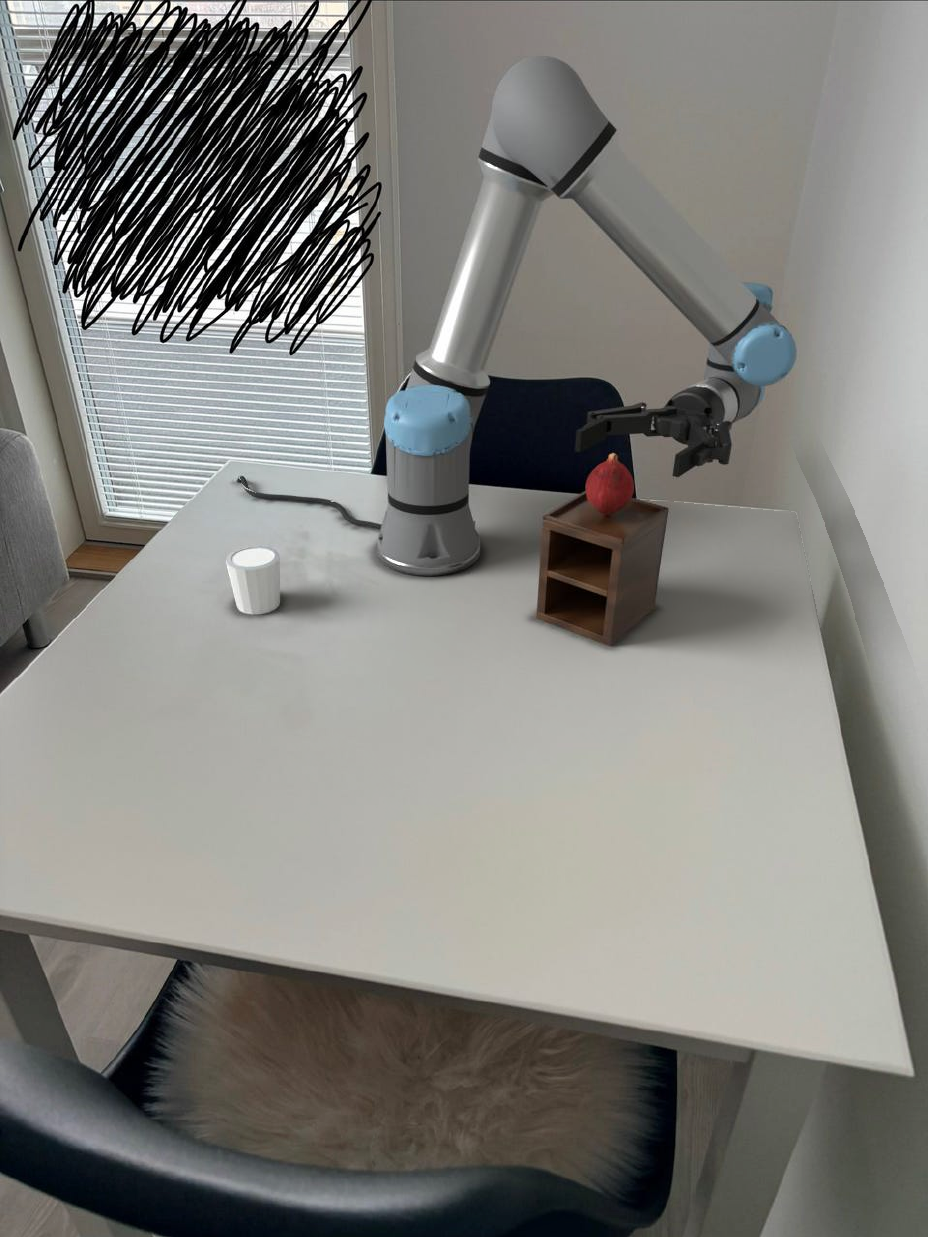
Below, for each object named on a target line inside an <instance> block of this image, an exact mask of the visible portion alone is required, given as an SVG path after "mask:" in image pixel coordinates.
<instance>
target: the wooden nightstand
mask: <svg viewBox="0 0 928 1237" xmlns="http://www.w3.org/2000/svg"><path fill="white" fill-rule="evenodd" d="M669 509H670V507H667V506H663V505H660V504H656V503H653V502H648V501H646V500H642V499H638V498H635V497H632V498H631V500H630V501H629V503H628V504H627V505H626V506H625V507H624V508H622V509H621V510H619V511H618V512H616V513H614V514H612V515H610V516H603V515H602V514H601V513H599V512H598V511H597V510H596V509H594V508H593V506H592V505H591V504H590V503H589V501H588V499H587V496H586V490H584V491H583V492H581V493H579V494H577V495H576V496H574V497H572V498H571V499H569V500H567V501H565V502H564V503H562V504H560V505H559V506H557V507H555V508H554V509H552V510H550V511H549V512H547V513H545V514H543V515H542V525H541V540H540V555H539V556H540V558H539V569H538V571H539V572H538V587H537V599H536V600H537V602H536V614H535V615H536V617H535V618H536V619H537V620H540V621H543V622H545V623H548V624H550V625H554V626H556V627H559V628H561V629H564V630H566V631H569V632H571V633H574V634H577V635H579V636H582V637H585V638H588V639H590V640H593V641H595V642H598V643H601V644H603V645H606V646H609V647H612V645H614V644H615V643H616V642H617V641H618V640H619V639H621V638H622V637H623V636H624V635H625V634H627V633H628V632H629V631H630V630H631V629H632V628H633V627H634V626H636V625H637V624H638V623H639V622H641V621H642V620H643V619H644V618H645V617H647V615H649V614H650V613H651V612H652V611H653V610H655V605H656V600H657V599H656V598H657V594H658V593H657V592H658V585H659V579H660V578H659V577H660V571H661V565H662V558H663V551H664V550H663V549H664V544H665V536H666V530H667V523H668V517H669V516H668V515H669V511H670V510H669Z"/></svg>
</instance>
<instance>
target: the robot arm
mask: <svg viewBox="0 0 928 1237" xmlns="http://www.w3.org/2000/svg"><path fill="white" fill-rule="evenodd" d="M477 162H478V164H479V167H480V169H481V172H482V174H483V175H482V176H483V180H482V183H481V186H480V189H479V192H478V195H477V198H476V201H475V204H474V207H473V211H472V214H471V217H470V220H469V223H468V227H467V229H466V233H465V236H464V239H463V243H462V245H461V249H460V252H459V254H458V258H457V261H456V264H455V267H454V271H453V274H452V277H451V280H450V283H449V286H448V290H447V292H446V293H447V294H446V295H445V299H444V302H443V305H442V309H441V312H440V315H439V317H438V321H437V324H436V327H435V330H434V334H433V336H432V339H431V343H430V346H429V347H428V349H426V350H424V351H422V352H420V353H417V355H416V356H415V360H414V363H413V366H412V368H411V372H410V375H409V377H408V378H409V379H408V381H407V385H406V387H405V390H399V391H398V392H396V393H394V394H393V395H392V396H391V397H390V398H389V400H388V401H387V403H386V406H385V415H384V419H383V427H384V433H385V452H386V482H387V507H386V510H385V512H384V513H385V514H384V517H383V519H382V523H377V522H373V521H367V520H361V519H357V518H353V517H352V516H350V515H349V514H348V512H347V510H346V509H345V507H344V506H343V505H342V504H340V503H339V502H337V501H334V502H331V501H332V500H331V499H328V498H327V499H326V498H322V497H311V496H301V495H300V496H299V495H289V494H275V493H274V494H273V493H263V492H258V491H255V492H256V493H255V492H252V491H249V490H247V489H245V488H244V487H243V489H244V490H245V492H246V493H247V494H249V496H251V497H255V498H258V499H264V500H265V499H266V500H277V501H278V500H279V501H289V502H300V503H313V504H322V505H327V506H331V507H333V508H336V509H337V510H338V511H339V513H340V515H341V516H342V518H344V520H346V521H347V522H348V523H350V524H352V525H355V526H360V527H368V528H372V529H375V530H378V531H379V533H378V536H377V541H376V553H377V554H376V555H377V557H378V559H379V561H380V562H381V563H382V564H384V565H385V566H386V567H388V568H389V569H392V570H394V571H397V572H399V573H404V574H408V575H414V576H442V575H448V574H453V573H457V572H461V571H463V570H465V569H468V568H469V567H470V566H473V564H474V563H476V562H477V561H478V559H479V557H480V555H481V540H480V535H479V533H478V531H477V530H476V520H474V518H473V514H472V511H471V509H470V504H469V503H470V502H469V501H470V497H469V496H470V454H471V448H472V447H471V446H472V442H473V441H472V440H473V435H474V431H475V426H476V425H477V421H478V419H479V415H480V413H481V409H482V408H483V404H484V401H485V399H486V396H487V393H488V390H489V388H490V384H491V380H490V377H489V375H488V373H487V370H486V365H487V362H488V360H489V357H490V354H491V351H492V349H493V346H494V343H495V340H496V337H497V334H498V332H499V329H500V327H501V326H500V325H501V323H502V321H503V318H504V314H505V313H506V309H507V306H508V304H509V301H510V298H511V295H512V292H513V290H514V287H515V284H516V281H517V278H518V275H519V273H520V270H521V267H522V264H523V261H524V258H525V256H526V253H527V250H528V248H529V244H530V242H531V239H532V236H533V233H534V230H535V228H536V225H537V222H538V219H539V216H540V214H541V211H542V208H543V205H544V203H545V201H546V200H547V199H549V198H550V197H552V196H554V195H555V196H556V197H557V198H558V199H559V200H573V201H574V202H575V203H576V204H577V206H579V208H580V209H581V210H582V211H583V212H584V213H585V214H586V215H587V216H588V217H589V218H590V219H591V220H592V221H593V222H594V223H595V224H596V225H597V226H598V227H599V228H600V230H601V231H602V232H603V233H604V234H605V235H606V236H607V237H608V238H609V239H610V240H611V241H612V242H613V243H614V244H615V245H616V246H617V247H618V248H619V249H620V250H621V252H622V253H623V254H624V255H625V256H626V257H627V258H628V259H629V260H630V261H631V262H632V263H633V264H634V265H635V266H636V268H638V269H639V270H640V272H641V273H643V275H645V277H647V279H648V280H649V281H650V282H651V283H652V284H653V285H654V286H655V287H656V288H657V289H658V290H659V291H660V292H661V293H662V294H663V295H664V296H665V298H667V299H668V300H669V302H670V303H671V304H672V305H673V307H675V308H676V309H677V310H678V311H679V312H680V313H681V314H682V315H683V316H684V318H685V319H687V320H688V321H689V322H690V323H691V325H692V326H694V328H695V329H696V330H697V331H698V333H700V334H701V335H702V336H703V337H704V338H705V339H706V340H707V342H709V344H708V353H707V358H706V364H705V370H704V377H703V379H702V380H701V381H700V380H699V382H696V383H693V384H692V385H690V386H688V387H686V388H685V389H683V390H681V391H679V392H677V393H675V394H674V395H673V396H671V397H670V398H669V399H668V401H667V402H666V404H665V405H664V406H663V407H661V408H649V409H648V408H647V405H648V403H646V402H643V401H642V402H641V401H640V402H637V403H635V404H631V405H626V406H620V407H613V408H606V409H599V410H593V411H587V414H586V424H585V425H583V427H581V428H578V429H576V432H575V433H576V434H575V446H574V452H578V453H582V452H583V451H585V450H587V449H589V448H591V447H593V446H596V445H597V444H599V443H601V442H603V441H605V440H606V438H607V436H608V437H609V436H623V435H625V436H626V435H638V434H639V435H640V434H643V436H646V437H647V438H649V437H650V438H651V437H663V438H672V439H673V440H674V441H676V442H678V443H680V444H682V445H685V446H687V447H685V448H683V449H682V450H680V451H679V452H677V453H676V454H675V455H674V462H673V468H672V469H673V470H672V475H671V476H672V477H674V478H675V477H676V478H680V477H681V476H683V475H684V474H686V473H688V472H689V471H690V470H692V469H693V468H695V467H701V466H704V465H705V464H706V463H707V464H710V463H713V462H714V460H717V461H718V464H720V465H723V466H727V465H729V463H730V458H731V452H732V446H733V443H732V438H731V433H732V427H733V424H735V423H737V422H738V421H739V420H742V419H744V418H746V417H747V416H749V415H750V414H751V413H752V412H753V411H754V410H755V409H756V408H757V407H758V406H759V405H760V404H761V402H762V400H763V398H764V395H765V390H766V389H765V387H768V386H772V385H776V384H777V383H779V382H780V381H782V380H783V379H785V378H786V377H787V375H788V374H789V373H790V372H791V370H792V369H793V367H794V365H795V363H796V360H797V355H798V351H797V344H796V340H795V339H794V338H793V335H792V334H791V332H790V330H788V328H787V327H786V326H784V325H783V324H781V323H780V322H779V321H778V320H777V319H776V317H775V316H774V315H773V314H772V313H771V312H772V310H773V299H774V298H773V297H774V291H773V289H772V287H770V286H769V285H767V284H764V283H760V282H753V281H752V282H751V281H742V280H741V279H740V278H739V277H738V275H736V273H734V271H733V270H732V269H731V268H730V267H729V266H728V264H727V263H726V262H725V261H724V260H723V259H722V258H721V257H720V255H719V254H718V253H716V251H715V250H714V249H713V247H711V246H710V245H709V243H708V242H706V240H705V238H704V239H703V237H702V236H701V234H700V233H698V231H696V229H694V227H693V226H692V224H690V222H688V220H687V219H686V218H685V217H684V216H683V215H682V214H681V213H680V212H679V210H678V209H677V208H676V207H675V206H674V205H673V204H672V203H671V202H670V201H669V200H668V199H667V197H666V196H665V195H664V194H663V193H662V192H661V191H660V190H659V189H658V188H657V186H656V185H655V184H654V182H652V181H651V180H650V179H649V178H648V176H647V175H646V174H645V172H643V171H642V170H641V169H640V168H639V166H638V165H637V164H636V163H635V162H634V161H633V160H632V159H631V158H630V157H629V156H628V154H627V153H626V152H625V151H624V149H622V148H621V146H620V145H619V130H618V128H616V127H615V126H614V124H612V122H611V121H610V120H609V119H608V118H607V117H606V115H605V114H604V113H603V111H602V110H601V109H600V107H599V106H598V105H597V103H596V102H595V100H594V98H593V97H592V96H591V94H590V92H589V91H588V89H587V88H586V86H585V84H584V82H583V80H582V79H581V77H580V76H579V74H578V73H577V71H575V69H574V68H573V67H571V65H569V64H568V63H567V62H565V61H563V60H561V59H560V58H557V57H553V56H550V55H534V56H530V57H527V58H524V59H523V60H520V61H519V62H518V63H516V64H515V65H512V67H511V68H510V69H509V70H507V72H506V73H505V74H504V75H503V77H502V78H501V80H500V81H499V83H498V86H497V88H496V89H495V93H494V95H493V100H492V105H491V115H490V118H489V122H488V124H487V128H486V131H485V134H484V138H483V142H482V145H481V147H480V151H479V154H478V158H477ZM652 426H653V429H652ZM239 477H240V479H241V480H240V479H239ZM236 483H241V485H242V484H243V485H244V486H245V487H246V488H248V489H249V488H250V486H249V484H248V482H247V479H246V477H245V476H243V475H240V476H238V478H237V479H236ZM243 485H242V486H243ZM248 486H249V487H248ZM257 492H258V493H257Z"/></svg>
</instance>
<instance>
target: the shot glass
mask: <svg viewBox="0 0 928 1237" xmlns="http://www.w3.org/2000/svg"><path fill="white" fill-rule="evenodd" d="M280 559H281V554H280V553H279V552H278V550H277V549H274V548H272V547H271V546H270V547H268V546H262V545H254V546H246V547H240V548H238V549H236V550H233V551H232V552H230V553H229V554H227V555H226V559H225V564H226V568H227V572H228V576H229V580H230V584H231V589H232V593H233V597H234V601H235V605H236V608H237V610H238V611H239V612H241V613H243V614H247V615H252V616H253V615H263V614H268V613H270V612H273V611H274V610H276V609H277V608H278V607H279V606H280V603H281V560H280Z"/></svg>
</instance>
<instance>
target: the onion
mask: <svg viewBox="0 0 928 1237" xmlns="http://www.w3.org/2000/svg"><path fill="white" fill-rule="evenodd" d="M618 458H619V455H617V454H616V453H614V452H612V453H610V454H608V458H607V459H606V461H604V462H602V463H599V464H598V465H597V466H596V467H595V468H593V469H592V471H591V472H590V473H589V474H588V476H587V478H586V481H585V491H586V496H587V499H588V501H589V503H590V504H591V505H592V506H593V508H594V509H596V510H597V511H598V512H599V513H601V514H602V515H603V516H610V515H612V514H614V513H616V512H618V511H619V510H621V509H622V508H624V507H625V506H626V505H627V504H628V503H629V501H630V500H631V498H633V496H634V492H635V483H634V482H635V481H634V478H633V476H632V473H631V472H630V471H629V468H627V467H626V466H625V465H624V464H623V463H622V462H620V461H619V460H618Z"/></svg>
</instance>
